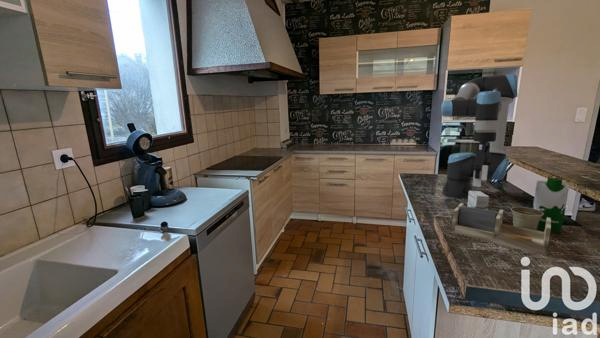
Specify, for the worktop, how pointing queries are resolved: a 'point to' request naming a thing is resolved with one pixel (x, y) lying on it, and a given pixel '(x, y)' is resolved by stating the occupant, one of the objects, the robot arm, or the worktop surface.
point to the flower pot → (526, 217)
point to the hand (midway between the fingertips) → (479, 183)
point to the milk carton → (551, 203)
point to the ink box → (478, 200)
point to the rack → (498, 230)
